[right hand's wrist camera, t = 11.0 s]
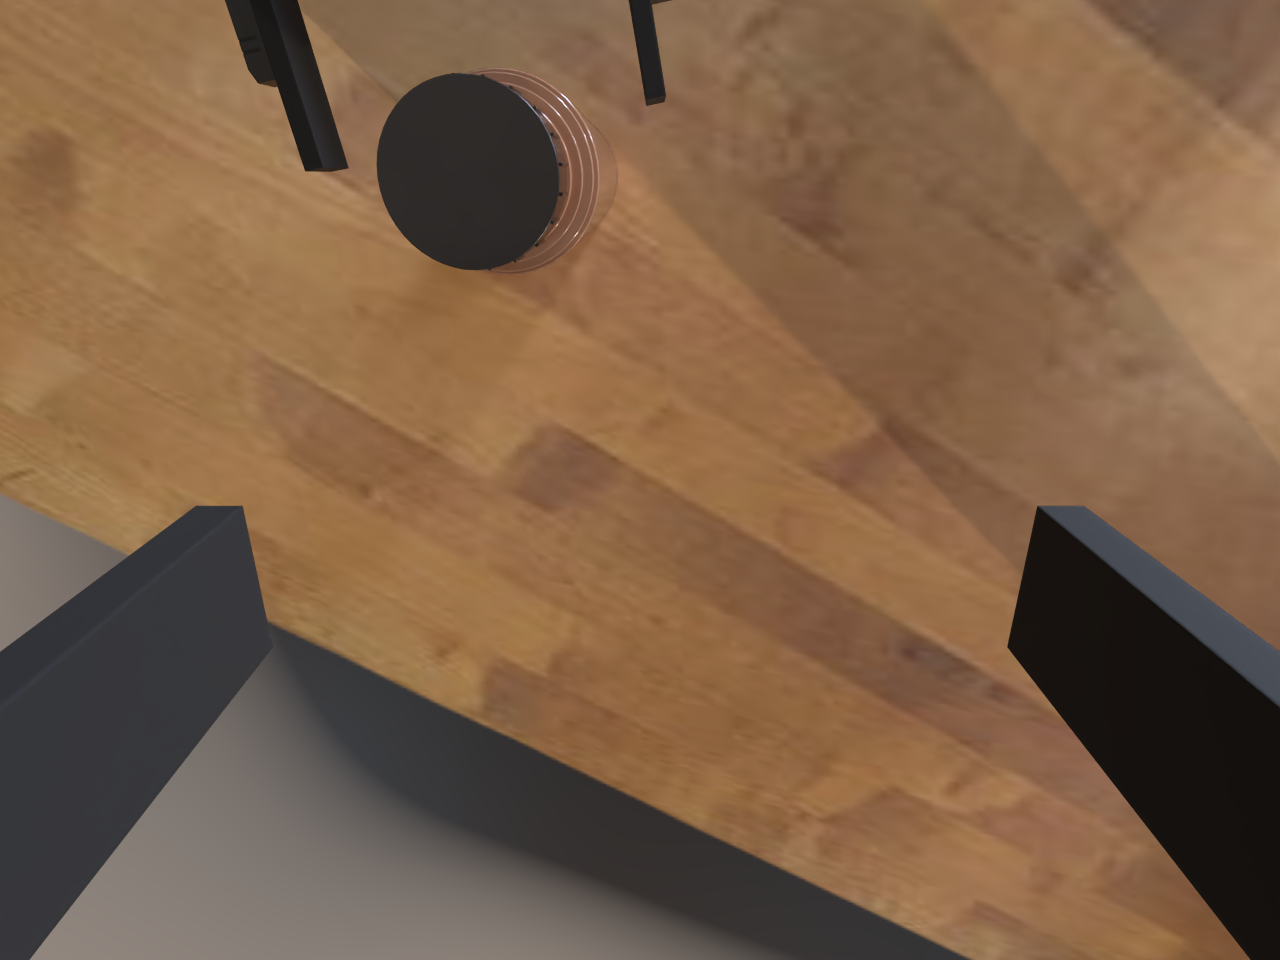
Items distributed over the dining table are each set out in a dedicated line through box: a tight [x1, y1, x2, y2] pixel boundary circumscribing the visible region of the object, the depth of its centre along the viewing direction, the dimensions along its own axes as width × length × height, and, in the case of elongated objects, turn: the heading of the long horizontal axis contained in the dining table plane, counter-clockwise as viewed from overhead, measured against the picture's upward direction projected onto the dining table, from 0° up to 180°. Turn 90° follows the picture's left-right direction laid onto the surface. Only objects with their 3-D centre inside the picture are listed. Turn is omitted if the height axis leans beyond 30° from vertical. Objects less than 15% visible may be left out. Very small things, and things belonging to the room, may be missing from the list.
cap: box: [377, 73, 568, 270], centre depth 19 cm, size 4×4×2 cm
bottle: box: [466, 67, 617, 275], centre depth 28 cm, size 6×6×20 cm
